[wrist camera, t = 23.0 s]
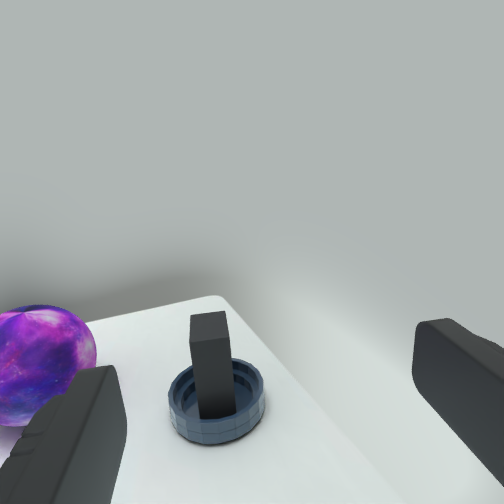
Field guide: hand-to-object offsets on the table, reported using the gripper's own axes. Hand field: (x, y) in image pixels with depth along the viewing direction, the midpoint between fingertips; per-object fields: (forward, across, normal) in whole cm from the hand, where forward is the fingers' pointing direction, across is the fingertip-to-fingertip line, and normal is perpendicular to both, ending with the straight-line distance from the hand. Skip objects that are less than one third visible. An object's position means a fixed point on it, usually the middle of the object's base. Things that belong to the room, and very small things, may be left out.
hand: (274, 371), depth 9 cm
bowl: (+29, +2, +27) cm, 40 cm away
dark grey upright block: (+29, +3, +27) cm, 40 cm away
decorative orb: (+34, +26, +27) cm, 51 cm away
